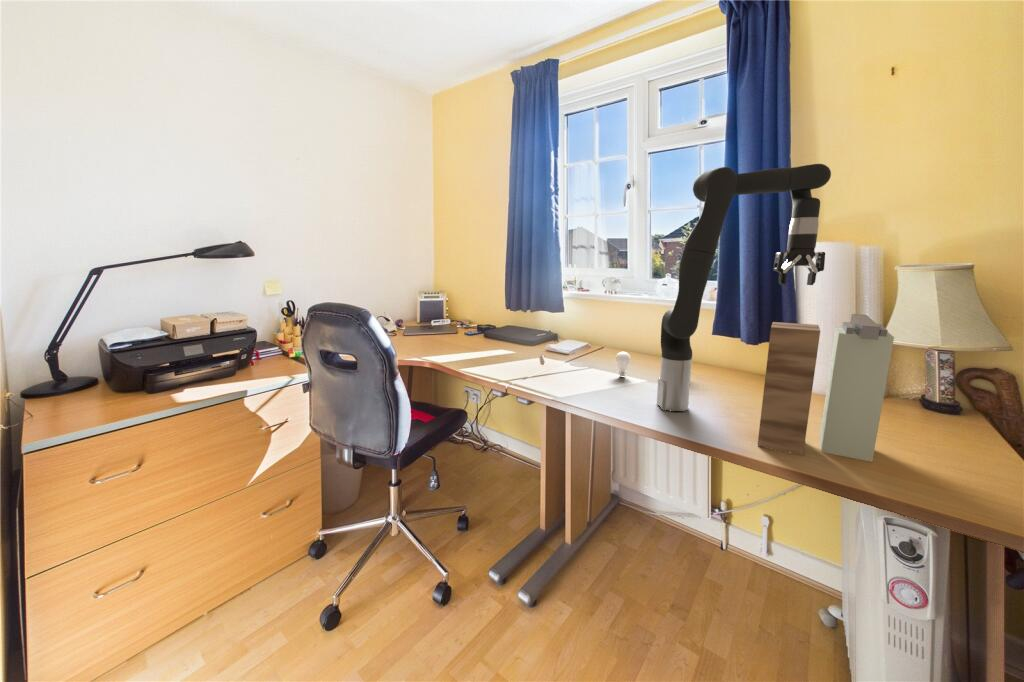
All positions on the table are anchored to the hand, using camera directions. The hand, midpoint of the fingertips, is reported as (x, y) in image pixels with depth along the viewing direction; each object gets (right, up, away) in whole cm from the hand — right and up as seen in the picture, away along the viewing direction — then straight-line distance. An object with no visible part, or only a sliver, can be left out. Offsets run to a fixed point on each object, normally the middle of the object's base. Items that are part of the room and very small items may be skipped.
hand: (796, 285), depth 134 cm
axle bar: (-5, -16, -32) cm, 36 cm away
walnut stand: (-20, -46, -22) cm, 54 cm away
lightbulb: (-46, -33, +40) cm, 69 cm away
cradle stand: (-5, -46, -26) cm, 53 cm away
